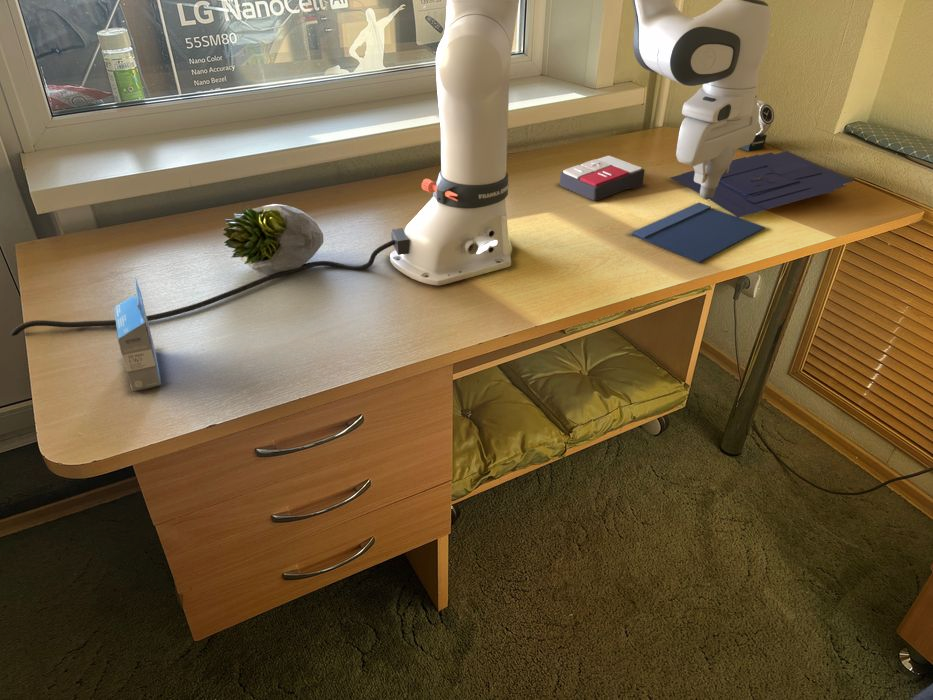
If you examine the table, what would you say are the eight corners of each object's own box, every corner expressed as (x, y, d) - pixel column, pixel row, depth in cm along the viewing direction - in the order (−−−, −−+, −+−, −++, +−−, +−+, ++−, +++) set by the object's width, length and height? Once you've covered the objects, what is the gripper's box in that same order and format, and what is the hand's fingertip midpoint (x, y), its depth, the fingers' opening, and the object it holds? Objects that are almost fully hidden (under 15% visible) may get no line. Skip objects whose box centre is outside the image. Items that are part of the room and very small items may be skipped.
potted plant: (335, 254, 119) (258, 261, 108) (296, 282, 128) (220, 291, 117) (312, 187, 120) (233, 188, 109) (274, 220, 129) (197, 223, 118)
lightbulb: (724, 206, 129) (738, 147, 123) (689, 203, 130) (701, 144, 124) (721, 194, 134) (734, 136, 128) (688, 191, 135) (699, 133, 129)
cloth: (699, 263, 125) (700, 259, 125) (631, 235, 134) (632, 231, 134) (764, 228, 137) (765, 225, 137) (698, 205, 146) (698, 202, 146)
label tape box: (127, 357, 100) (102, 280, 93) (158, 351, 101) (136, 274, 94) (131, 392, 93) (105, 312, 86) (164, 385, 94) (141, 305, 87)
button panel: (559, 169, 152) (608, 152, 160) (558, 188, 155) (607, 170, 162) (596, 184, 145) (646, 166, 152) (594, 204, 148) (643, 185, 155)
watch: (754, 153, 173) (765, 107, 167) (729, 144, 179) (739, 99, 173) (770, 149, 176) (781, 104, 169) (744, 140, 181) (754, 96, 175)
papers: (859, 196, 147) (863, 179, 145) (737, 230, 141) (739, 213, 138) (779, 160, 166) (781, 144, 164) (667, 188, 160) (669, 173, 157)
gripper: (743, 86, 129) (726, 160, 137) (676, 106, 118) (663, 186, 126) (775, 93, 125) (756, 169, 133) (709, 115, 114) (693, 196, 122)
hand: (710, 177), depth 129 cm, fingers closed on lightbulb, 6 cm apart
